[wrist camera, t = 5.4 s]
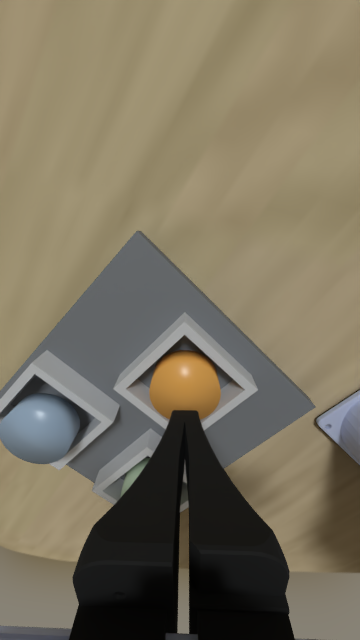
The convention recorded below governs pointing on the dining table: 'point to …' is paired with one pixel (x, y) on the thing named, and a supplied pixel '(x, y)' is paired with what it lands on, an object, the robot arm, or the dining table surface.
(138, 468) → the button sage
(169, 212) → the dining table surface
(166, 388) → the button orange
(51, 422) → the button blue
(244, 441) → the control board
